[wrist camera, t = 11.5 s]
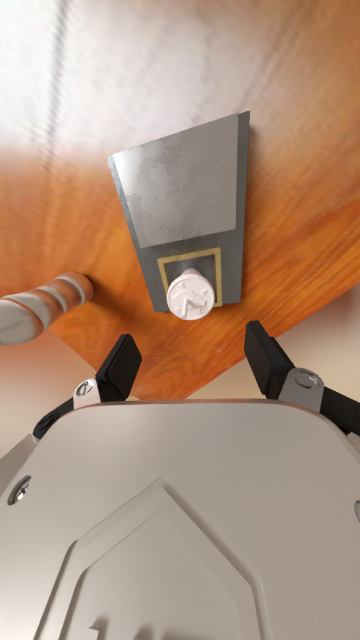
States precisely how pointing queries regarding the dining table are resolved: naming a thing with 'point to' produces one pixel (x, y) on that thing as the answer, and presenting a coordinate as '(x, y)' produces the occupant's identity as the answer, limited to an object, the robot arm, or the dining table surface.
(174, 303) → the smoothie
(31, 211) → the dining table surface
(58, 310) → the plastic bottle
